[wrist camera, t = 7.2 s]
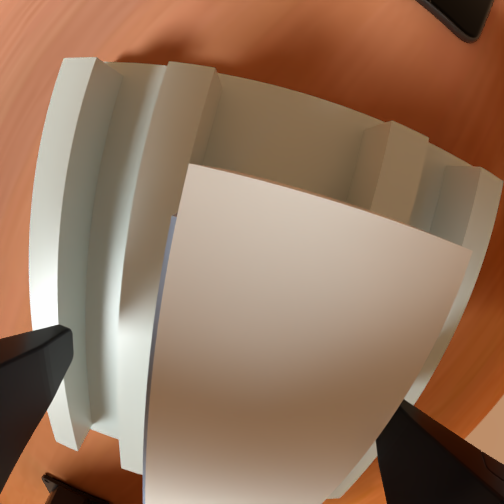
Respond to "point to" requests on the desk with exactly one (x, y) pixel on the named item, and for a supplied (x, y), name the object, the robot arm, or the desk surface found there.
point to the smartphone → (461, 16)
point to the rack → (168, 200)
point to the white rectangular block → (283, 339)
